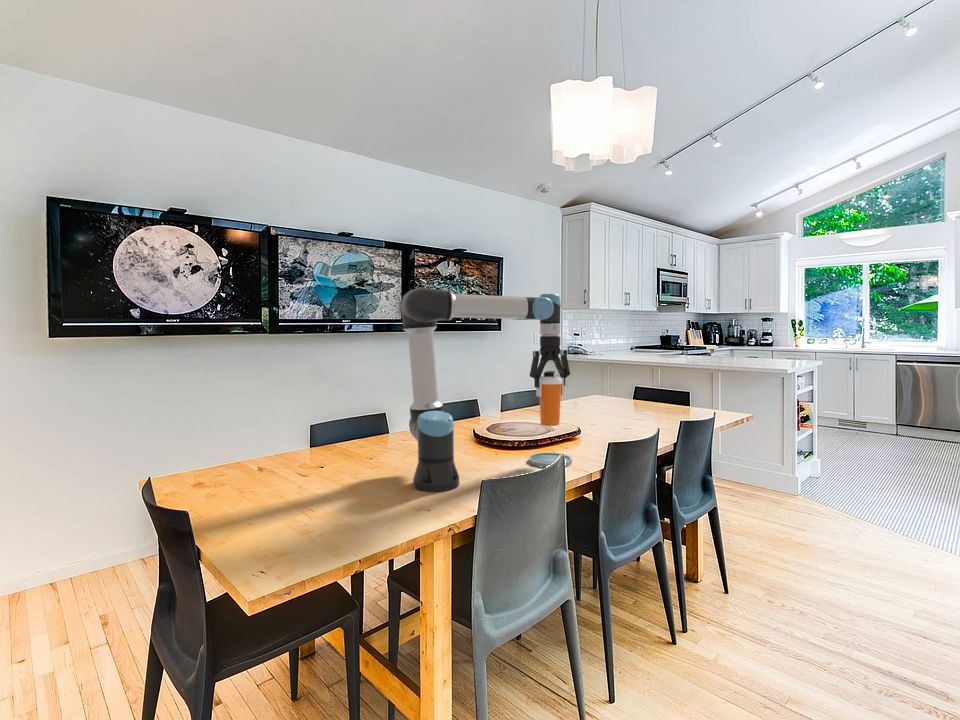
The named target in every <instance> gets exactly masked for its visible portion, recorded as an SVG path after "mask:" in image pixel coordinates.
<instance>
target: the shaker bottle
mask: <svg viewBox="0 0 960 720" xmlns="http://www.w3.org/2000/svg"><path fill="white" fill-rule="evenodd" d="M540 379H542V397H539V415H540V416H539V417H540V425H542V426H546V427H547V426H548V427H555V426H559V425H560V421H561V420H560V418H561V400H562V399H561V398H562V395H561V384H562V378H561V377H560V375H559V374H556V370H546V371H543V372H542V374H541V376H540Z"/></svg>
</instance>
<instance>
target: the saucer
mask: <svg viewBox="0 0 960 720" xmlns="http://www.w3.org/2000/svg"><path fill="white" fill-rule="evenodd" d="M561 454H562V453H561V452H548V451H547V452H538V453H537V452H535V453H533V454H530V455H529V456H528V462H529V464H530V463H531V464H530V465H532V464H533V465H532V466H534V465H537V466H536V467H538V466H542V467H541V468H544V467H546V466H548V465H551V464H552V463H554V462H555V461H556V460H557V458H558V457H559V455H561ZM564 454H565V459H566V467H569V466H571V465H572V462H573V458H572V456H570V455H568V454H566V453H564ZM566 467H565V468H566Z"/></svg>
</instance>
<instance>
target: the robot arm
mask: <svg viewBox="0 0 960 720" xmlns="http://www.w3.org/2000/svg"><path fill="white" fill-rule="evenodd" d="M561 306H562V305H561V296H560V294H558V293H541V294H540V295H539V297H533V296H532V297H531V296H530V297H529V296H510V295H509V296H508V295H485V294H461V293H459V294H458V293H453V292H452V291H451V290H445V289H444V290H442V289H436V288H435V289H434V288H429V287H417V288H414V289H411V290H409V291H407V292H406V293H405V294H403V296H402V297H401V299H400V303H399V312H400V314H401V318H402V327H403V331H404V332H405V333H407V337H408V348H409V360H410V362H409V363H410V374H411V383H412V397H413V398H412V399H413V402H412V404H411V405H410V406H409V414H410V415H409V416H410V419H409V423H408V424H409V425H408V427H409V431H410V434H411V435H412V437H414V439H415V440H416V442H417V460H418V461H417V465H416V469H415V472H414V474H413V478H412V484H413V485H412V486H413V487H414V488H415V489H417V490H419V491H423V492H445V491H450V490H453V489H456V488H458V486H459V485H460V474H459V472H458V470H457V467H456V463H455V457H454V450H455V449H454V446H455V445H454V444H455V442H454V440H455V439H454V435H455V433H454V429H455V422H454V418H453V416H452V415H451V414H450V413H449V412H445V411H444V404H443V403H442V401H440V399H439V397H438V396H439V393H438V382H437V369H436V366H437V365H436V356H435V342H434V331H435V330H436V329H437V328H438V327H437V326H438V325H437V323H438V322H439V321H450V320H452V319H454V318H458V319H459V318H461V319H462V318H463V319H468V318H469V319H502V320H503V319H507V320H508V319H509V320H510V319H511V320H513V321H517V320H518V321H523V320H524V321H525V320H527V321H528V320H529V321H531V320H534V321H537V320H539V335H541V336H540V337H539V345H540V348H539V350H533V351H532V361H531V365H530V372H529V377H530V378H532V379H534V381H533V382H534V388H536V389H535V391H536V392H535V393H536V395H535V396H536V397H539V398H540V397H542V379H540V376H541V375H543V373H544V370H545V367H546V364H547V363H549V362H548V361H552V363H554V365H555V368H556V370H557V372H558V375H559V376H560V377H561V378H562V384H561V396H564V395H565V394H564V393H565V390H564V389H565V386H566V378H568V376H571V372H570V366H569V362H568V350H566V349H561V348H560V347H561V336H560V335H561ZM559 355H560V356H559ZM540 356H541V357H540ZM539 361H540V362H539Z"/></svg>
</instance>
